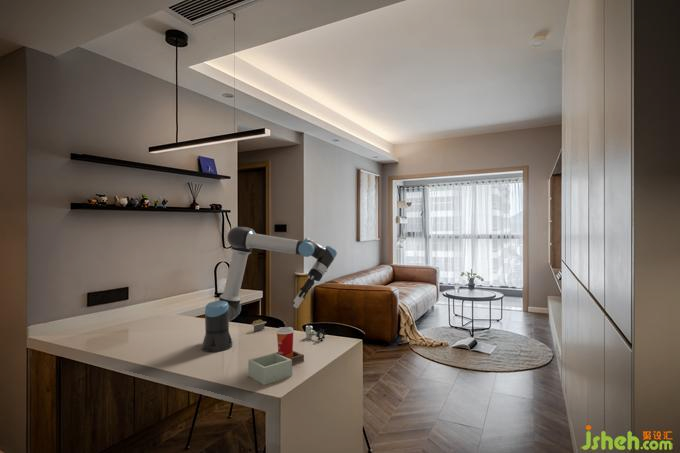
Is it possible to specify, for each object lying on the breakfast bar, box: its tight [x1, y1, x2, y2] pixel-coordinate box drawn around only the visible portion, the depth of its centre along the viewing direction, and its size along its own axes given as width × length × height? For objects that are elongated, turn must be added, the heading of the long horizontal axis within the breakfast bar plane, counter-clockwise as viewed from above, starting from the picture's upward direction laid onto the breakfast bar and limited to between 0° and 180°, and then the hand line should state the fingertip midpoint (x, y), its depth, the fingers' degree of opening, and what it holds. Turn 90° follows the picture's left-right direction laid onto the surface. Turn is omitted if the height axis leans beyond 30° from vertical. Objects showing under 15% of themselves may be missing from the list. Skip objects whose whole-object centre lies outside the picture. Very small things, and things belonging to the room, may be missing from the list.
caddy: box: [247, 352, 293, 386], centre depth 151 cm, size 13×13×6 cm
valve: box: [305, 325, 326, 342], centre depth 202 cm, size 7×7×12 cm
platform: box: [251, 319, 267, 333], centre depth 224 cm, size 12×18×7 cm, turn 141°
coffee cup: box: [275, 326, 295, 358], centre depth 168 cm, size 8×8×15 cm
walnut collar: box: [275, 350, 305, 366], centre depth 167 cm, size 12×12×3 cm
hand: (295, 305), depth 188 cm, fingers open, 13 cm apart
